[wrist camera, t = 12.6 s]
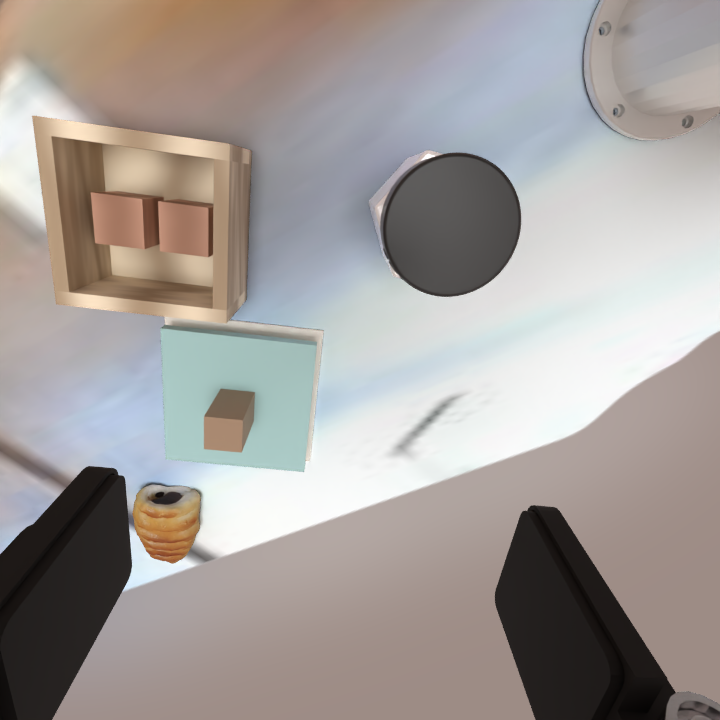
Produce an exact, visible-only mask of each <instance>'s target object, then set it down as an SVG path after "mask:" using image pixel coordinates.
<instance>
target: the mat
mask: <svg viewBox="0 0 720 720" xmlns="http://www.w3.org/2000/svg"><path fill="white" fill-rule="evenodd" d="M165 325H171V326H180V327H189V328H198V329H207V330H216V331H225V332H234V333H243V334H252V335H261V336H270V337H279V338H288V339H297V340H306V341H314V342H317V350H316V360H315V370H314V380H313V390H312V400H311V410H310V420H309V430H308V441H307V451H306V461H310V456H311V446H312V436H313V427H314V417H315V408H316V398H317V388H318V379H319V369H320V359H321V350H322V340H323V331H324V330H315V329H306V328H298V327H289V326H280V325H271V324H263V323H254V322H245V321H236V320H229V321H228V322H227V324H225V323H216V322H208V321H199V320H190V319H181V318H172V317H165Z"/></svg>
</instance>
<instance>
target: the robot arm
mask: <svg viewBox="0 0 720 720" xmlns="http://www.w3.org/2000/svg"><path fill="white" fill-rule="evenodd" d="M599 29H600V30H601V35H600V33H599ZM584 77H585V82H586V87H587V92H588V94H589V97H590V99H591V102H592V104H593V107H594V108H595V110H596V111H597V113H598V114H599V116H600V117H601V119H602V120H603V121H604V122H605V123H607V124H608V125H609V126H610V127H611V128H612V129H613V130H615V131H617V132H619V133H620V134H622V135H624V136H627V137H630V138H634V139H638V140H661V139H669V138H673V137H676V136H680V135H684V134H686V133H688V132H690V131H692V130H694V129H697V128H699V127H700V126H702V125H703V124H705V123H706V122H708V121H709V120H711V119H712V118H714V117H715V116H716V115H717V114H718V113H719V112H720V0H600V2H599V4H598V6H597V8H596V10H595V12H594V15H593V17H592V20H591V23H590V27H589V30H588V33H587V37H586V44H585V50H584ZM613 109H614V110H615V114H614V115H613ZM131 568H132V559H131V547H130V534H129V522H128V509H127V497H126V484H125V478H124V476H120V475H118V472H117V470H116V469H114V468H104V467H93V466H88V467H86V468H85V469H83V470H82V471H81V472H80V474H79V475H78V476H77V477H76V478H75V479H74V480H73V481H72V482H71V483H70V485H69V486H68V487H67V488H66V489H65V490H64V491H63V492H62V493H61V494H60V496H59V497H58V498H57V499H56V500H55V501H54V502H53V503H52V504H51V505H50V506H49V508H48V509H47V510H46V511H45V512H44V513H43V514H42V515H41V516H40V517H39V519H38V520H37V521H36V522H35V523H34V524H33V525H30V526H28V527H26V528H25V529H24V530H23V531H22V532H21V533H20V534H19V535H18V536H17V537H16V538H15V539H14V540H13V541H12V542H11V543H10V545H9V546H8V547H7V548H6V549H5V550H4V551H3V552H2V553H1V554H0V720H52V719H53V717H54V715H55V713H56V711H57V709H58V708H59V706H60V704H61V702H62V700H63V699H64V697H65V695H66V693H67V691H68V689H69V688H70V686H71V684H72V682H73V680H74V678H75V677H76V675H77V673H78V671H79V669H80V667H81V666H82V664H83V662H84V660H85V658H86V657H87V655H88V653H89V651H90V649H91V647H92V646H93V644H94V642H95V640H96V638H97V636H98V634H99V633H100V631H101V629H102V627H103V625H104V623H105V622H106V620H107V618H108V616H109V614H110V613H111V611H112V609H113V607H114V605H115V604H116V602H117V600H118V598H119V596H120V594H121V593H122V591H123V589H124V587H125V585H126V583H127V581H128V579H129V576H130V573H131ZM495 603H496V608H497V611H498V614H499V617H500V619H501V622H502V625H503V628H504V631H505V634H506V636H507V640H508V642H509V645H510V648H511V651H512V653H513V657H514V659H515V662H516V665H517V668H518V671H519V674H520V677H521V679H522V682H523V685H524V688H525V691H526V694H527V697H528V699H529V702H530V705H531V708H532V711H533V713H534V717H535V719H536V720H720V705H719V704H718V703H717V702H715V701H713V700H711V699H708V698H707V697H705V696H703V695H700V694H696V693H692V692H677V693H676V692H675V691H674V689H673V688H672V686H671V685H670V683H669V682H668V680H667V677H666V676H665V674H664V673H663V671H662V670H661V668H660V666H659V665H658V663H657V662H656V660H655V659H654V657H653V656H652V654H651V652H650V651H649V649H648V648H647V647H646V645H645V643H644V642H643V640H642V638H641V637H640V635H639V634H638V632H637V631H636V629H635V628H634V626H633V624H632V623H631V621H630V620H629V618H628V617H627V615H626V614H625V612H624V611H623V609H622V607H621V606H620V604H619V603H618V601H617V600H616V598H615V596H614V595H613V593H612V592H611V590H610V589H609V587H608V586H607V584H606V583H605V581H604V580H603V578H602V576H601V575H600V573H599V572H598V570H597V568H596V567H595V565H594V564H593V562H592V561H591V559H590V558H589V556H588V555H587V553H586V551H585V550H584V548H583V547H582V545H581V544H580V542H579V541H578V539H577V537H576V536H575V534H574V533H573V531H572V530H571V528H570V527H569V525H568V523H567V522H566V520H565V519H564V517H563V516H562V514H561V513H560V511H559V510H558V509H557V508H555V507H545V506H535V505H534V506H530V508H528V511H523V512H522V513H521V515H520V518H519V521H518V524H517V527H516V530H515V533H514V536H513V539H512V542H511V546H510V549H509V551H508V554H507V557H506V560H505V564H504V567H503V570H502V573H501V576H500V579H499V582H498V585H497V588H496V592H495Z"/></svg>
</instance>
